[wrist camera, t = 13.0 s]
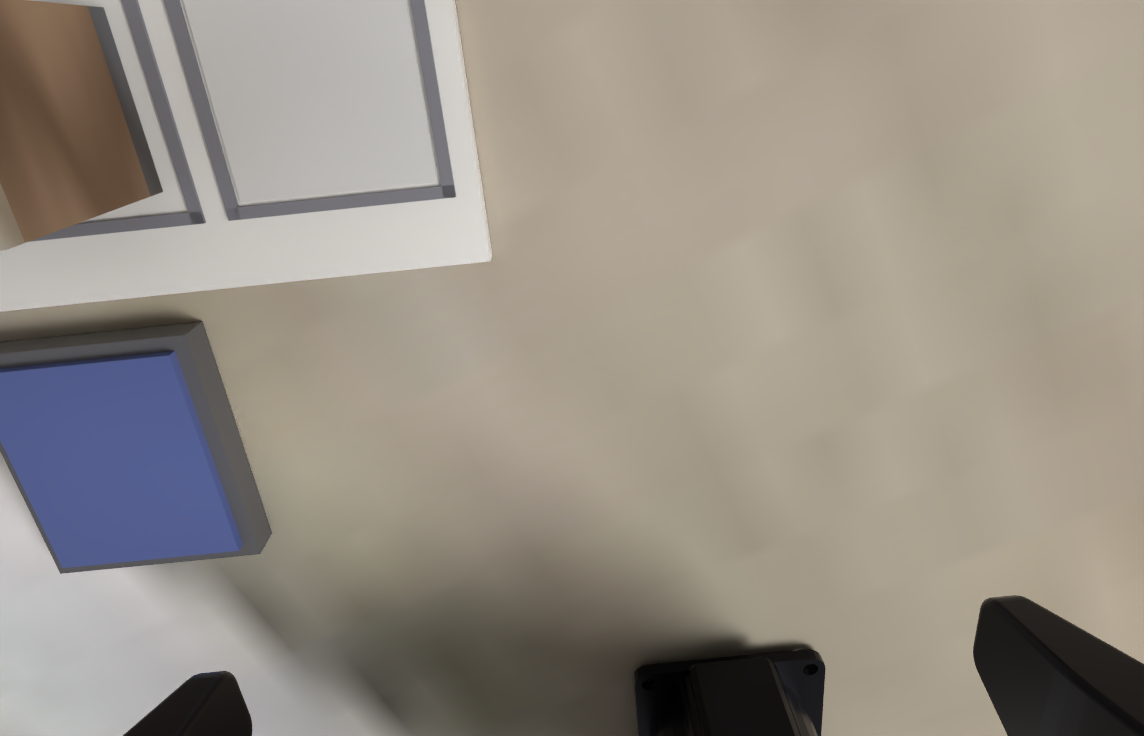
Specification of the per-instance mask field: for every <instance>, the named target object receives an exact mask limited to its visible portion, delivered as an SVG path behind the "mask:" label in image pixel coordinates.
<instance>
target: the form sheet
mask: <svg viewBox="0 0 1144 736" xmlns="http://www.w3.org/2000/svg"><path fill="white" fill-rule="evenodd" d="M30 1H41V2H51V3H62V4H73V5H83V6H94V7H104V10H105V13H106V16H107V19H108V22H109V25H110V28H111V31H112V35H113V38H114V41H115V44H116V47H117V50H118V53H119V56H120V59H121V62H122V66H123V69H124V72H125V75H126V78H127V81H128V84H129V87H130V90H131V93H132V96H133V100H134V103H135V106H136V109H137V112H138V115H139V118H140V121H141V124H142V127H143V131H144V134H145V137H146V140H147V143H148V146H149V149H150V152H151V155H152V158H153V161H154V165H155V168H156V171H157V174H158V177H159V180H160V183H161V186H162V189H163V192H161V193H159V194H156V195H153V196H151V197H148V198H145V199H143V200H140V201H137V202H134V203H132V204H129V205H126V206H124V207H121V208H118V209H116V210H113V211H110V212H107V213H105V214H102V215H99V216H97V217H94V218H91V219H88V220H86V221H83V222H80V223H78V224H75V225H72V226H70V227H67V228H64V229H61V230H59V231H56V232H53V233H51V234H48V235H45V236H43V237H40V238H37V239H34V240H32V241H29V242H26V243H24V244H21V245H18V246H15V247H13V248H10V249H7V250H2V251H0V312H2V311H12V310H22V309H31V308H41V307H51V306H60V305H70V304H80V303H90V302H99V301H109V300H119V299H128V298H138V297H148V296H158V295H167V294H177V293H187V292H196V291H206V290H216V289H226V288H235V287H245V286H255V285H264V284H274V283H284V282H293V281H303V280H313V279H323V278H332V277H342V276H352V275H361V274H371V273H381V272H391V271H400V270H410V269H420V268H429V267H439V266H449V265H459V264H468V263H478V262H488V261H491V258H492V250H491V243H490V236H489V230H488V223H487V216H486V209H485V202H484V195H483V189H482V182H481V175H480V168H479V161H478V154H477V148H476V141H475V134H474V127H473V120H472V113H471V107H470V100H469V93H468V86H467V79H466V72H465V66H464V59H463V52H462V45H461V38H460V31H459V25H458V18H457V11H456V4H455V0H30Z"/></svg>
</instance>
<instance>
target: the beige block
mask: <svg viewBox="0 0 1144 736" xmlns="http://www.w3.org/2000/svg"><path fill="white" fill-rule="evenodd" d="M161 192H163V189H162V186H161V183H160V180H159V177H158V174H157V171H156V168H155V165H154V161H153V158H152V155H151V152H150V149H149V146H148V143H147V140H146V137H145V134H144V131H143V127H142V124H141V121H140V118H139V115H138V112H137V109H136V106H135V103H134V100H133V96H132V93H131V90H130V87H129V84H128V81H127V78H126V75H125V72H124V69H123V66H122V62H121V59H120V56H119V53H118V50H117V47H116V44H115V41H114V38H113V35H112V31H111V28H110V25H109V22H108V19H107V16H106V13H105V10H104V7H94V6H83V5H73V4H62V3H51V2H41V1H30V0H0V251H2V250H7V249H10V248H13V247H15V246H18V245H21V244H24V243H26V242H29V241H32V240H34V239H37V238H40V237H43V236H45V235H48V234H51V233H53V232H56V231H59V230H61V229H64V228H67V227H70V226H72V225H75V224H78V223H80V222H83V221H86V220H88V219H91V218H94V217H97V216H99V215H102V214H105V213H107V212H110V211H113V210H116V209H118V208H121V207H124V206H126V205H129V204H132V203H134V202H137V201H140V200H143V199H145V198H148V197H151V196H153V195H156V194H159V193H161Z"/></svg>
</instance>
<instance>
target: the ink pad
mask: <svg viewBox="0 0 1144 736" xmlns="http://www.w3.org/2000/svg"><path fill="white" fill-rule="evenodd" d="M0 451H1V453H2V455H3V457H4V459H5V461H6V463H7V465H8V467H9V469H10V472H11V474H12V476H13V478H14V480H15V482H16V484H17V486H18V488H19V490H20V492H21V494H22V496H23V498H24V500H25V502H26V504H27V506H28V508H29V510H30V512H31V514H32V516H33V518H34V520H35V523H36V525H37V527H38V529H39V531H40V533H41V535H42V537H43V539H44V541H45V543H46V545H47V547H48V549H49V551H50V553H51V555H52V557H53V559H54V561H55V563H56V565H57V567H58V569H59V572H60V574H61V573H71V572H81V571H91V570H102V569H112V568H122V567H132V566H142V565H153V564H163V563H173V562H183V561H193V560H203V559H214V558H224V557H234V556H244V555H254V554H260V553H261V551H262V550H263V548H264V546H265V544H266V543H267V541H268V539H269V537H270V536H271V534H272V532H271V529H270V526H269V523H268V520H267V517H266V513H265V510H264V507H263V504H262V501H261V498H260V495H259V492H258V489H257V486H256V483H255V480H254V477H253V474H252V471H251V468H250V465H249V462H248V459H247V456H246V453H245V450H244V447H243V443H242V440H241V437H240V434H239V431H238V428H237V425H236V422H235V419H234V416H233V413H232V410H231V407H230V404H229V401H228V398H227V395H226V392H225V389H224V386H223V383H222V380H221V377H220V373H219V370H218V367H217V364H216V361H215V358H214V355H213V352H212V349H211V346H210V343H209V340H208V337H207V334H206V331H205V328H204V325H203V322H193V323H183V324H174V325H164V326H154V327H144V328H135V329H125V330H115V331H105V332H95V333H86V334H76V335H66V336H56V337H47V338H37V339H27V340H17V341H8V342H0Z"/></svg>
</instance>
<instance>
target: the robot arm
mask: <svg viewBox="0 0 1144 736" xmlns="http://www.w3.org/2000/svg"><path fill="white" fill-rule="evenodd" d="M973 655H974V661H975V665H976V668H977V671H978V673H979V675H980V677H981V679H982V682H983V684H984V686H985V688H986V690H987V692H988V694H989V697H990V699H991V701H992V703H993V705H994V707H995V709H996V711H997V714H998V716H999V718H1000V720H1001V722H1002V724H1003V726H1004V728H1005V731H1006V733H1007V735H1008V736H1144V664H1143V663H1141V662H1139V661H1137V660H1136V659H1134V658H1132V657H1130V656H1129V655H1127V654H1125V653H1123V652H1122V651H1120V650H1118V649H1116V648H1114V647H1113V646H1111V645H1109V644H1107V643H1106V642H1104V641H1102V640H1100V639H1098V638H1097V637H1095V636H1093V635H1091V634H1090V633H1088V632H1086V631H1084V630H1082V629H1081V628H1079V627H1077V626H1075V625H1074V624H1072V623H1070V622H1068V621H1067V620H1065V619H1063V618H1061V617H1059V616H1058V615H1056V614H1054V613H1052V612H1051V611H1049V610H1047V609H1045V608H1043V607H1042V606H1040V605H1038V604H1036V603H1035V602H1033V601H1031V600H1029V599H1027V598H1025V597H1022V596H1016V595H1014V596H1004V597H993V598H988V599H986V600H985V601H984V602H983V603H982V605H981V608H980V613H979V619H978V624H977V630H976V636H975V641H974V647H973ZM809 664H811V665H809ZM806 665H808V666H806ZM633 678H634V689H635V701H636V713H637V725H638V736H821V727H822V711H823V696H824V680H825V665H824V662H823V660H822V658H821V655H820V654H819V653H818V652H817V651H814V650H798V651H788V652H777V653H767V654H756V655H746V656H735V657H725V658H714V659H704V660H693V661H683V662H673V663H662V664H652V665H645V666H641V667H640V668H638V669H637V670H636V671H635V672H634V677H633ZM649 679H650V681H645V680H649ZM123 736H252V721H251V716H250V714H249V711H248V708H247V706H246V703H245V701H244V698H243V696H242V693H241V691H240V688H239V686H238V683H237V681H236V679H235V677H234V675H233V674H231V673H230V672H227V671H220V672H210V673H200V674H197V675H194V676H192V677H191V678H190V679H188V680H187V681H186V682H185V683H183V684H182V685H181V686H180V687H179V688H178V689H176V690H175V691H174V692H173V693H172V694H171V695H169V696H168V697H167V698H166V699H165V700H164V701H163V702H161V703H160V704H159V705H158V706H157V707H156V708H154V709H153V710H152V711H151V712H150V713H149V714H147V715H146V716H145V717H144V718H143V719H142V720H140V721H139V722H138V723H137V724H136V725H135V726H133V727H132V728H131V729H130V730H129V731H128V732H126V733H125V734H124V735H123Z"/></svg>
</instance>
